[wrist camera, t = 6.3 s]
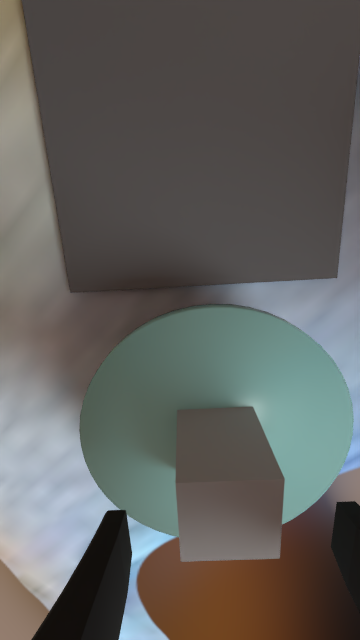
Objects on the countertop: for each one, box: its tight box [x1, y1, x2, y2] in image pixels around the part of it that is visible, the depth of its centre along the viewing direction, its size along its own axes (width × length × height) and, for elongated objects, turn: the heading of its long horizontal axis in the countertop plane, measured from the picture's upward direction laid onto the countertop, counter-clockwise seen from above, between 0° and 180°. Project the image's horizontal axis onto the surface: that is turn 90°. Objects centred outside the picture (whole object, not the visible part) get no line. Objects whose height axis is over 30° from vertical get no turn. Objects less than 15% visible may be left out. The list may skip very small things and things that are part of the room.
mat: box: [22, 0, 360, 293], centre depth 15 cm, size 16×15×1 cm
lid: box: [80, 304, 354, 561], centre depth 12 cm, size 13×13×5 cm
